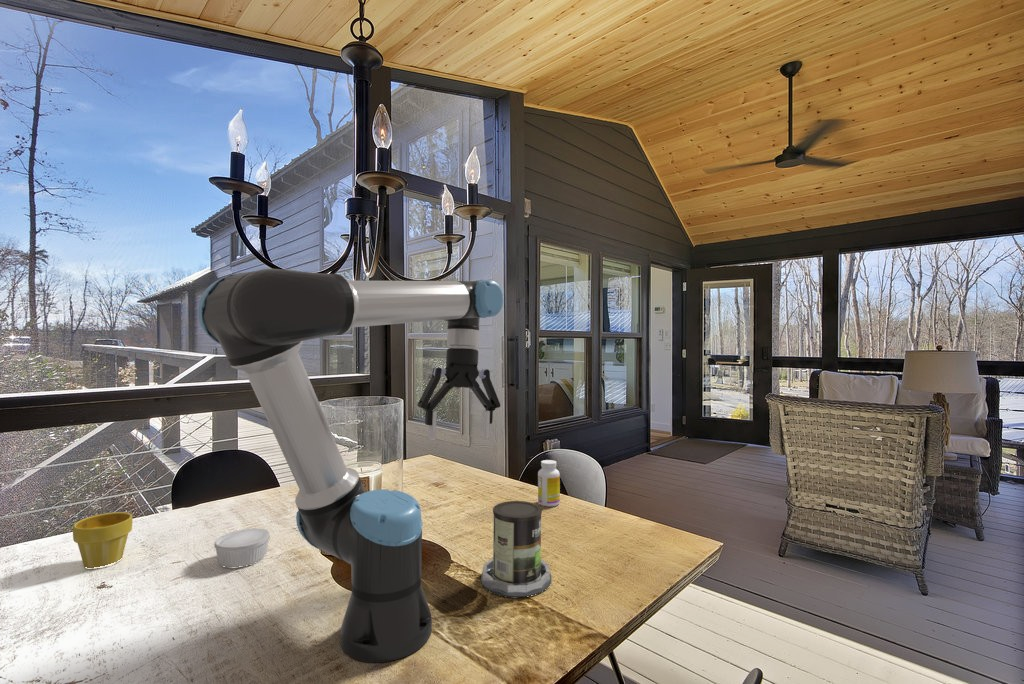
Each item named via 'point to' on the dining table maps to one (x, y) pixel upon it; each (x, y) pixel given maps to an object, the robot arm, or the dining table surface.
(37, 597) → the dining table surface
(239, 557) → the ramekin
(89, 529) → the plant pot
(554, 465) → the supplement bottle
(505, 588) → the shallow dark gray bowl
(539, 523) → the coffee can
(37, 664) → the dining table surface
